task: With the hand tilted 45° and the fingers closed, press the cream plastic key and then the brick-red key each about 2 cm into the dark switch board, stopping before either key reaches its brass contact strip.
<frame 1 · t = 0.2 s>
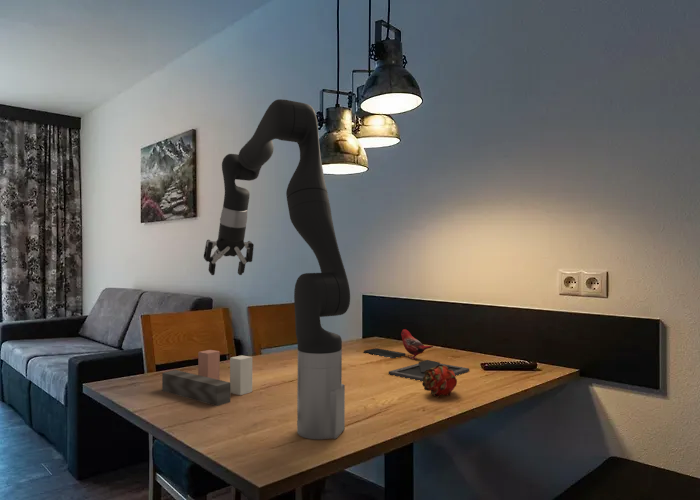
hand: (226, 274, 154), 31 cm above the table, tool tilted 20°, fingers open, 8 cm apart
decorative bird figurine: (416, 360, 179), on the table
cream key: (241, 374, 132), point 6 cm above the table, slide at 0.0 cm
phone: (384, 355, 189), on the table
brick key: (208, 368, 140), point 6 cm above the table, slide at 0.0 cm
dragon fruit: (440, 395, 135), on the table
picture frame: (429, 375, 160), on the table
switch board: (209, 397, 132), on the table
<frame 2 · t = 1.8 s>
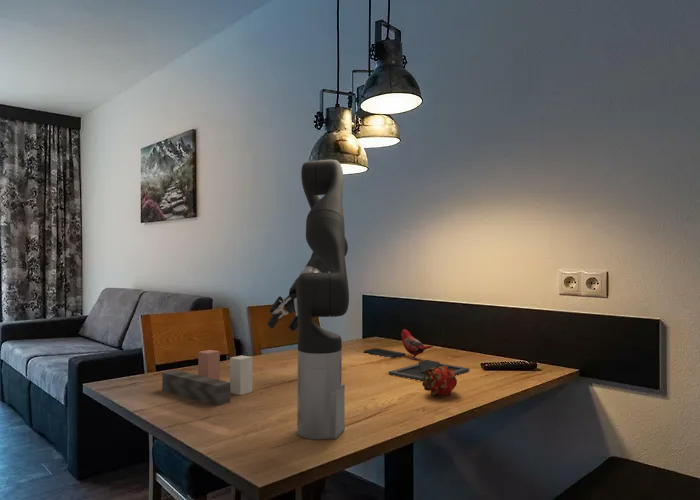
hand: (280, 328, 144), 16 cm above the table, tool tilted 45°, fingers open, 7 cm apart
nothing on the table moved.
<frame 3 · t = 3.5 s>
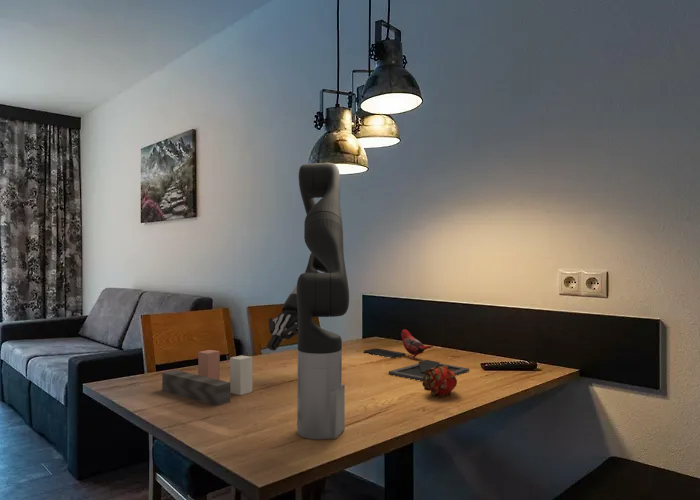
hand: (270, 348, 141), 11 cm above the table, tool tilted 45°, fingers closed
nothing on the table moved.
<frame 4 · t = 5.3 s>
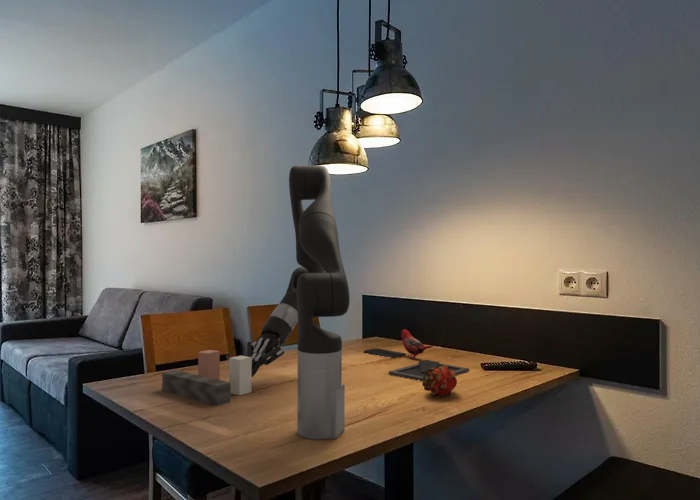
hand: (248, 375, 134), 5 cm above the table, tool tilted 45°, fingers closed
cream key: (240, 375, 132), point 6 cm above the table, slide at 0.3 cm, touching gripper
everything else where it was.
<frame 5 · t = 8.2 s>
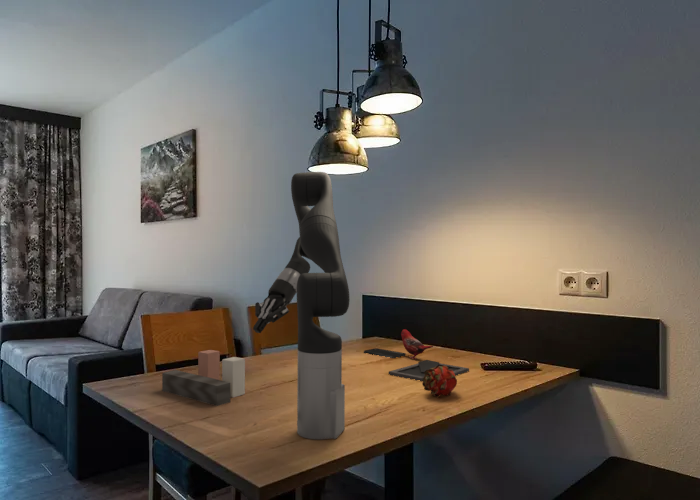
hand: (256, 331, 148), 15 cm above the table, tool tilted 45°, fingers closed
cream key: (233, 376, 130), point 6 cm above the table, slide at 2.6 cm
everything else where it was.
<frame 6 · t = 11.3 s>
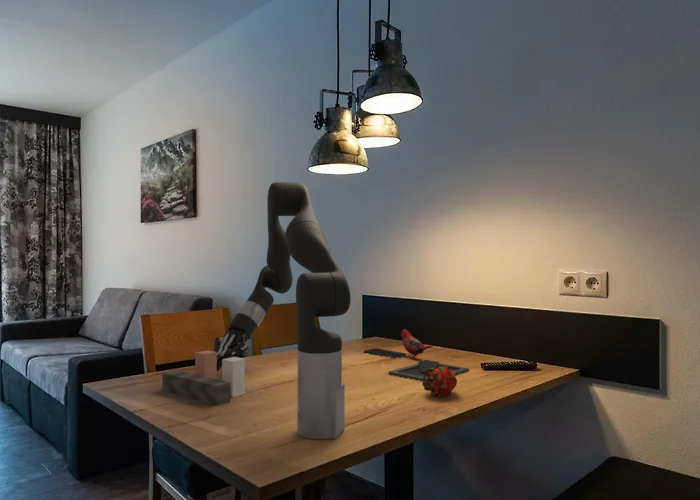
hand: (213, 369, 141), 5 cm above the table, tool tilted 45°, fingers closed
brick key: (205, 368, 139), point 6 cm above the table, slide at 1.0 cm, touching gripper
everything else where it was.
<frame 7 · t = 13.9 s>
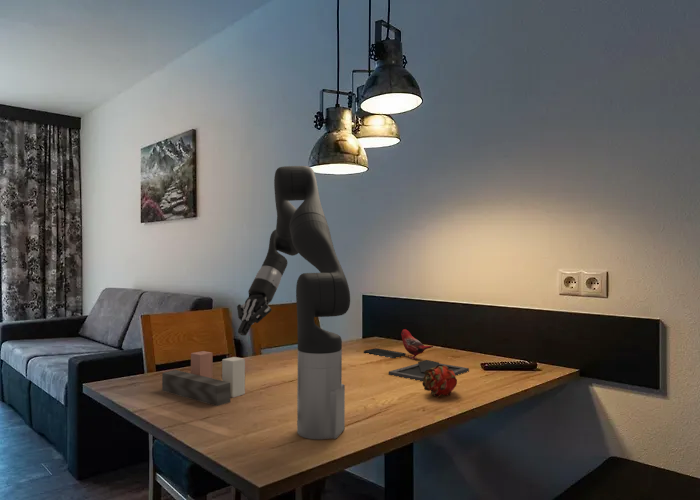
hand: (241, 334, 146), 14 cm above the table, tool tilted 35°, fingers closed
brick key: (201, 369, 138), point 6 cm above the table, slide at 2.4 cm
everything else where it was.
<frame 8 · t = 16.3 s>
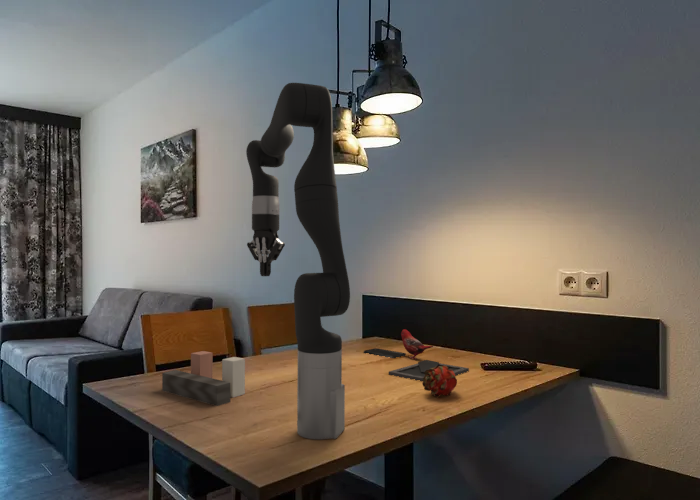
hand: (265, 276, 141), 31 cm above the table, tool pointing down, fingers closed
nothing on the table moved.
at the end: cream key slide at 2.6 cm; brick key slide at 2.4 cm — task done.
